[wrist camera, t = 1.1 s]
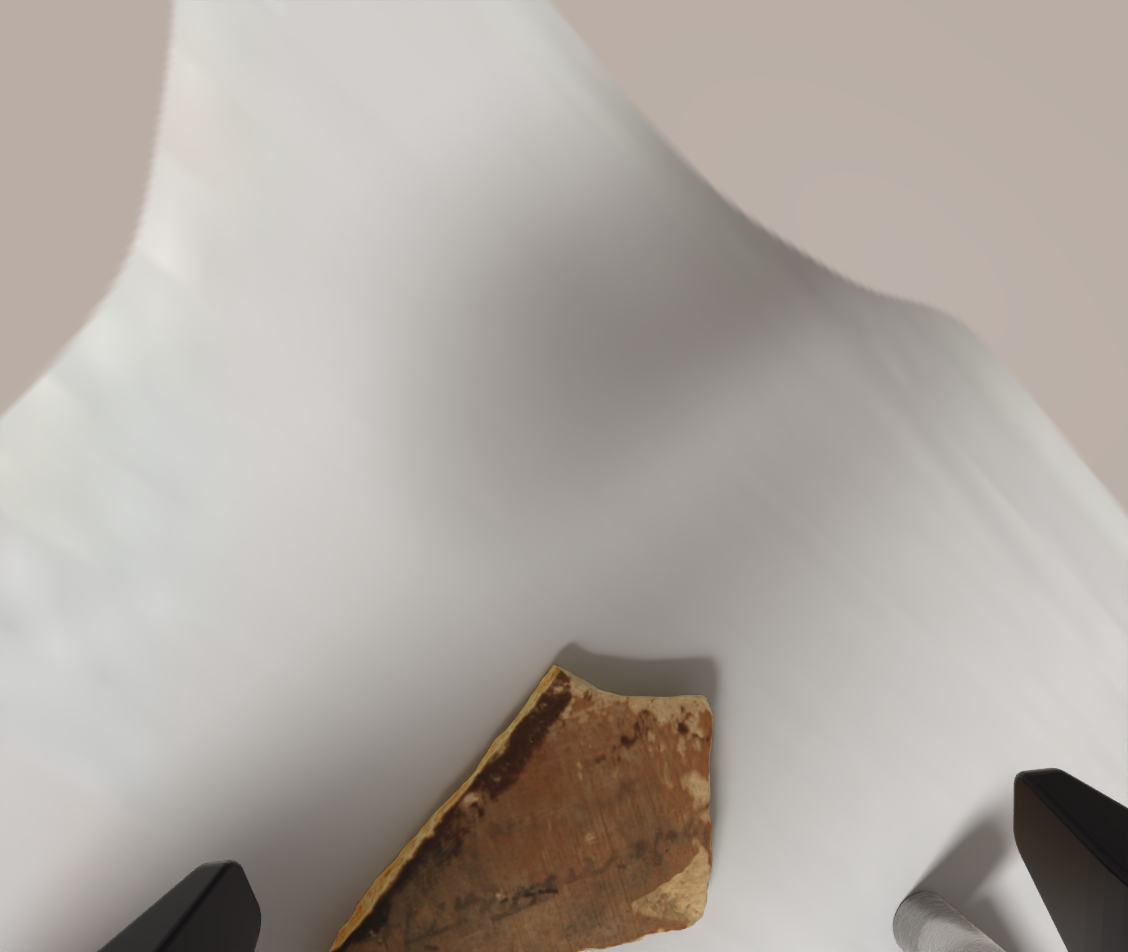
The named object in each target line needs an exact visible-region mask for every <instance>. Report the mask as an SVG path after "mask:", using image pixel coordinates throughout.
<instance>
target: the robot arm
mask: <svg viewBox="0 0 1128 952" xmlns="http://www.w3.org/2000/svg"><path fill="white" fill-rule="evenodd" d="M1013 830H1014V837H1015V841H1016V845H1017V847H1018V850H1019V853H1020V855H1021V857H1022V859H1023V861H1024V863H1025V865H1026V867H1027V869H1028V871H1029V873H1030V875H1031V877H1032V879H1033V881H1034V883H1035V886H1036V888H1037V890H1038V892H1039V894H1040V896H1041V898H1042V900H1043V902H1044V904H1045V906H1046V908H1047V910H1048V912H1049V914H1050V916H1051V918H1052V920H1053V922H1054V924H1055V926H1056V928H1057V930H1058V932H1059V934H1060V936H1061V938H1062V940H1063V942H1064V944H1065V946H1066V948H1067V950H1068V952H1128V808H1127V807H1125V806H1123V805H1122V804H1120V803H1118V802H1117V801H1115V800H1113V799H1111V798H1110V797H1108V796H1106V795H1104V794H1103V793H1101V792H1099V791H1098V790H1096V789H1094V788H1092V787H1091V786H1089V785H1087V784H1085V783H1084V782H1082V781H1080V780H1079V779H1077V778H1075V777H1073V776H1072V775H1070V774H1068V773H1066V772H1064V771H1062V770H1060V769H1056V768H1047V769H1038V770H1028V771H1022V772H1020V773H1018V774H1017V775H1016V777H1015V780H1014V814H1013ZM260 926H261V913H260V908H259V905H258V902H257V900H256V898H255V896H254V893H253V891H252V889H251V886H250V884H249V882H248V880H247V877H246V875H245V873H244V870H243V868H242V867H241V865H240V864H239V863H237V862H236V861H233V860H227V861H218V862H210V863H205V864H202V865H200V866H199V867H197V868H196V869H195V870H194V871H192V872H191V873H190V874H189V875H188V876H187V877H185V878H184V879H183V880H182V881H181V882H180V883H178V884H177V885H176V886H175V887H174V888H172V889H171V890H170V891H169V892H168V893H167V894H165V895H164V896H163V897H162V898H161V899H159V900H158V901H157V902H156V903H155V904H154V905H152V906H151V907H150V908H149V909H148V910H146V911H145V912H144V913H143V914H142V915H141V916H139V917H138V918H137V919H136V920H135V921H133V922H132V923H131V924H130V925H129V926H128V927H126V928H125V929H124V930H123V931H122V932H120V933H119V934H118V935H117V936H116V937H115V938H113V939H112V940H111V941H110V942H109V943H107V944H106V945H105V946H104V947H103V948H102V949H100V950H99V951H98V952H254V950H255V947H256V943H257V939H258V936H259V932H260Z"/></svg>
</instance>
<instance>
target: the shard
mask: <svg viewBox="0 0 1128 952" xmlns="http://www.w3.org/2000/svg"><path fill="white" fill-rule="evenodd" d="M712 733H713V713H712V710H711V708H710V706H709V703H708V700H707V697H705V696H704V695H681V696H674V697H652V696H621V695H618V694H615V693H611V692H606V691H602V690H600V689H598V688H597V687H595V686H594V685H592V684H590V683H588V682H587V681H585V680H584V679H582V678H580V677H578V676H575V675H574V674H572V673H571V672H570V671H568V670H566V669H563V668H561V667H559V666H556V665H553V666H552V667H551V669H550V671H549V672H548V673H547V674H546V675H545V676H544V677H543V679H542V680H541V682H540V683H539V685H538V687H537V688H536V690H535V691H534V692H533V694H532V695H531V696H530V698H529V700H528V702H527V703H526V704H525V706H524V707H523V708H522V710H521V711H520V713H519V714H518V716H517V717H516V718H515V719H514V721H513V722H512V723H511V724H510V725H509V726H508V728H507V729H506V730H505V731H504V732H503V733H502V734H501V735H499V736H498V737H497V738H496V739H495V740H494V742H493V743H492V744H491V746H490V748H489V749H488V751H487V752H486V754H485V755H484V757H483V758H482V760H481V762H480V763H479V765H478V767H477V768H476V770H475V772H474V773H473V774H472V775H471V776H470V777H469V779H468V780H467V781H466V782H464V783H463V784H462V786H461V787H460V788H459V789H458V790H457V791H456V792H455V793H454V794H453V795H452V796H451V797H450V798H449V799H448V800H447V801H446V802H445V803H444V804H443V805H442V806H441V807H440V808H439V809H438V810H437V811H436V812H435V813H434V814H433V815H432V816H431V817H430V819H429V820H428V822H427V823H426V824H425V825H424V826H423V827H422V828H421V829H420V830H419V832H418V833H417V835H416V836H415V837H414V838H413V839H411V840H410V841H409V843H408V844H407V845H406V846H405V847H404V848H403V849H402V850H401V851H400V853H399V855H398V856H397V858H396V859H395V860H394V861H393V862H392V863H391V864H389V865H388V866H387V867H386V869H385V870H384V871H383V872H382V873H381V874H380V875H379V876H378V877H377V878H376V879H375V880H374V882H373V884H372V885H371V887H370V888H369V889H368V890H367V892H366V893H365V895H364V897H363V898H362V899H361V900H360V901H359V902H358V904H357V906H356V909H355V911H354V913H353V915H352V916H351V918H350V919H349V920H348V921H347V923H346V924H345V925H344V926H343V927H342V928H341V929H340V930H339V932H338V934H337V937H336V939H335V941H334V942H333V944H332V946H331V949H330V951H328V952H580V951H583V950H591V949H605V948H609V947H613V946H617V945H621V944H626V943H631V942H634V941H638V940H640V939H641V938H643V937H644V936H646V935H649V934H654V933H659V932H668V931H671V930H682V929H685V928H688V927H690V926H692V925H693V924H695V922H696V921H698V920H699V919H700V918H701V917H702V916H703V913H704V908H705V905H706V903H707V888H708V879H709V876H710V872H711V867H712V853H711V820H710V816H709V808H710V751H711V745H712Z"/></svg>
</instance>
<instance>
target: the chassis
mask: <svg viewBox="0 0 1128 952" xmlns="http://www.w3.org/2000/svg"><path fill="white" fill-rule="evenodd" d="M893 933H894V938H895V940H896V942H897V944H898V946H899V947H900V948H901V949H902V950H903V951H904V952H1006V951H1005V950H1003V949H1002V948H1001V947H1000V946H999V945H997V944H996V943H995V942H994V941H993V940H991V939H990V938H989V937H988V936H987V935H985V934H984V933H983V932H982V931H981V930H979V929H978V928H977V927H976V926H975V925H973V924H972V923H971V922H970V921H969V920H967V919H966V918H965V917H964V916H963V915H961V914H960V913H959V912H958V911H957V910H955V909H954V908H953V907H952V906H951V905H949V904H948V903H947V902H946V901H945V900H943V899H942V898H941V897H940V896H938V895H937V894H935V893H932V892H919V893H916V894H913V895H912V896H910V897H909V898H907V899H906V900H905V901H904V902H903V903H902V904H901V906H900V907H899V909H898V911H897V913H896V915H895V918H894V923H893Z"/></svg>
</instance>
